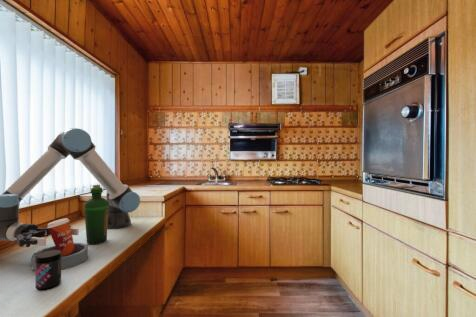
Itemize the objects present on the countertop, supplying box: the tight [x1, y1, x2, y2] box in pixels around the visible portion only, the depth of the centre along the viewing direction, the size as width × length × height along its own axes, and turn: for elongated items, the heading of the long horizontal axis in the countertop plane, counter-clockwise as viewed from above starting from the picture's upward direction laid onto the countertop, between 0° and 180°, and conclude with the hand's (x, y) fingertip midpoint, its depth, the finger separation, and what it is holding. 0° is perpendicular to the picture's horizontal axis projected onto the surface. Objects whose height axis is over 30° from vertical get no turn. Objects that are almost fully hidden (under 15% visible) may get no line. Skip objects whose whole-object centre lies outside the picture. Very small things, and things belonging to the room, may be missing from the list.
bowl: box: [30, 242, 89, 272], centre depth 99 cm, size 18×18×4 cm
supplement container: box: [34, 250, 62, 292], centre depth 80 cm, size 7×7×10 cm
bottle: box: [83, 184, 109, 246], centre depth 122 cm, size 11×11×28 cm
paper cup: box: [46, 217, 75, 257], centre depth 103 cm, size 8×8×14 cm
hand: (62, 236), depth 99 cm, fingers open, 13 cm apart
